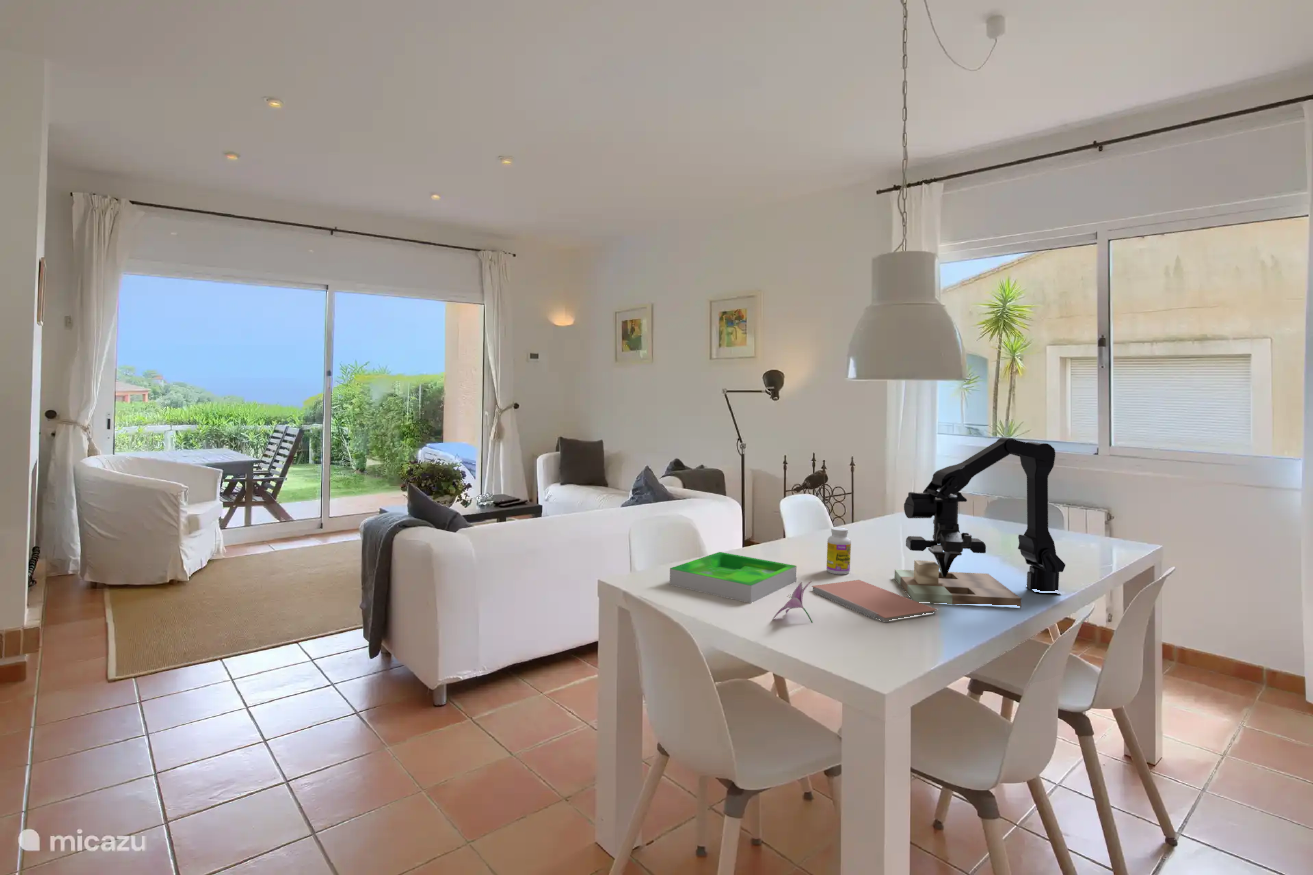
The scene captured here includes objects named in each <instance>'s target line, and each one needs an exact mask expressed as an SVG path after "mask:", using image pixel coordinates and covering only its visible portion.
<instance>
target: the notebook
mask: <svg viewBox="0 0 1313 875" xmlns="http://www.w3.org/2000/svg"><path fill="white" fill-rule="evenodd" d="M811 587H812V592H814V594H815V595H818V596H819V597H823V598H825V599H827V600H829V601H832V602H833V603H836V604H837V605H840V606H843V607H845V608H847V609H849V610H851V611H853V610H854V612H855V613H859V614H860V615H862V616H865V617H867V618H870V619H871V620H874V619H875V618H877V619H880V620H881V621H880V622H882V621H889V620H892V619H898V618H904V617H910V616H914V615H922V614H923V613H924V614H926V613H933V612H935V613H936V611H938V609H937V608H934V607H933V606H930V605H928V604H923V603H919V602H916V601H914V600H911V598H908V597H905V596H902V595H900V594H898V593H895V592H894V591H893V592H892V591H890V590H887V589H885V588H883V587H879V586H877V585H874V584H871V583H869V582H866V581H863V580H861V579H855V580H847V581H845V580H844V581H840V582H839V581H838V582H832V583H831V582H830V583H824V584H815V585H814V584H813V585H811ZM852 608H853V609H852ZM864 613H865V614H864ZM868 615H869V616H868ZM870 616H871V617H870ZM873 617H874V618H873ZM877 619H876V620H877Z"/></svg>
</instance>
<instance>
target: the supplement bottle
mask: <svg viewBox="0 0 1313 875" xmlns="http://www.w3.org/2000/svg"><path fill="white" fill-rule="evenodd" d="M830 532H831V535H830V536H828V538H827V541H826V542H827V546H826V547H827V548H826V571H827V572H828V573H830V574H834V575H848V574H849V573H850V571H851V551H852V541H851V540H852V539H850V537H848V534H849V529H848V528H847V527H842V526H841V527H840V526H836V527H835V526H833V527H831V531H830Z"/></svg>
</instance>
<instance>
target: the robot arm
mask: <svg viewBox="0 0 1313 875" xmlns="http://www.w3.org/2000/svg"><path fill="white" fill-rule="evenodd" d="M1009 455H1012V456H1016V457H1018V458H1019V461H1020V465H1021V467H1022V469H1023V471H1024V474H1026V475H1025V476H1026V513H1027V514H1026V515H1027V516H1026V517H1027V518H1026V521H1027V522H1026V525H1027V526H1026V531H1025V532H1024V534H1018V536H1017V537H1018V538H1017V539H1018V547H1017V550H1019V551H1020V554H1021V556H1022V557H1023V558H1024V560H1025V564H1026V565H1029V569H1028V570H1029V571H1027V573H1026V585H1027V587H1029V588H1030V589H1037V590H1040V591H1055V590H1058V591H1059V587H1060V586H1059V585H1060V584H1059V583H1060V573H1063V572H1064V570H1065V567H1066V563H1065V562H1064V561H1063V560H1062V559H1061V558H1060V557H1059V555H1057V551H1056V546H1055V541H1054V538H1053V536H1052V535H1051V532H1050V531H1049V530H1050V529H1049V475H1050V473H1052V472H1051V471H1052V470H1053V468H1054V466H1055V460H1056V449H1055V447H1053V446H1052V445H1051V444H1049V443H1048V442H1047V443H1046V442H1038V441H1036V442H1035V441H1022V440H1018V439H1015V438H1012V437H1004V436H1003V437H1000V438H999V439H997V440H996V441H995V442H993V443H992V444H990V445H988V446H987V447H985V448H984V449H981V450H980V451H978V452H976V453H974V455H972V456H970V457H968V458H966V459H965V460H963V461H962V462H959V463H956V464H953V465H949V466H946V467H943V468H941V469H938V470H936V471H935V472H934V473H933V475H932V477H931V478H932V479H931V481H930V482H929V484H928V485H927V486H926V488H925V489H924V490H923V492H915V491H909V492H908V496H907V497H906V498H905V500H904V504H903V512H904V514H905V516H906V518H907V519H931V518H933V520H932V524H933V534H932V539H933V540H929V539H928V540H927V539H925V538H924V537H923V536H918V535H915V536H914V535H913V536H912V535H908V536H907V537H906V538H905V547H906V548H908V549H909V550H910V551H916V552H924V551H926V549H927V548H928V549H927V550H928V552H930V553H931V554H932V555H933V556H934V558H935V559H936V563H937V564H938V565H939V571H940V572H941V574H942V576H943V577H946V576H947V573H948V572H950V571H949V570H950V568H951V566H952V565H953V562H954V560H956V558H957V557H958V556H962V555H963V551H964V550H970V551H971V552H972V553H975V554H986V551H987V546H986V543H985V542H984V541H982V540H981V539H979V537H978V538H973V536H972V534H971V532H960V525H959V502H960V503H965V502H968V499H967V498H966V497H965V496H963V495H962V493H961V491H962V490H963V489H964V488H966V486H968V484H969V483H970V481H971V480H972V479H973V478H974V477H975V476H976V475H978V474H980V473H982V472H984V471H985V470H986V469H988V468H990V467H992V466H993V465H994V464H996V463H998V462H999V461H1001V460H1003V459H1004V458H1006V457H1008V456H1009ZM933 516H934V517H933ZM1027 587H1026V588H1027ZM1029 588H1028V589H1029ZM1030 589H1029V590H1030Z"/></svg>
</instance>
